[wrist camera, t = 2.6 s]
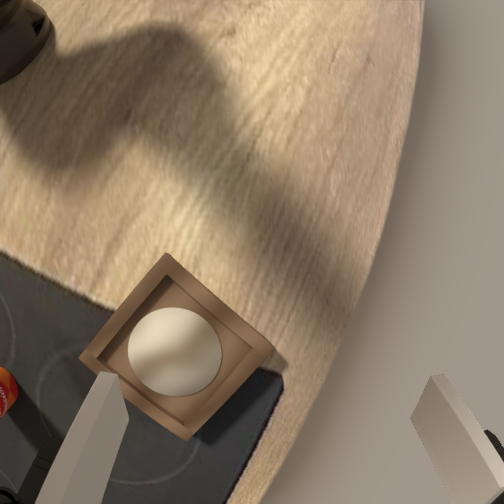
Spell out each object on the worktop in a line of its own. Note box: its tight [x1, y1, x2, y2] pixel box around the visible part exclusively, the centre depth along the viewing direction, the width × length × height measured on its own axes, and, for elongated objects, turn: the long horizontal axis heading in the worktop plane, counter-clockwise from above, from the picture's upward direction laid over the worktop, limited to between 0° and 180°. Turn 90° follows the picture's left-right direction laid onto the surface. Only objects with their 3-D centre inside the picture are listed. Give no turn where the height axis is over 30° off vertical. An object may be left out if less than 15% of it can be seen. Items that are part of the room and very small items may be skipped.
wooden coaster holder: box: [79, 253, 275, 441], centre depth 33 cm, size 15×15×4 cm
